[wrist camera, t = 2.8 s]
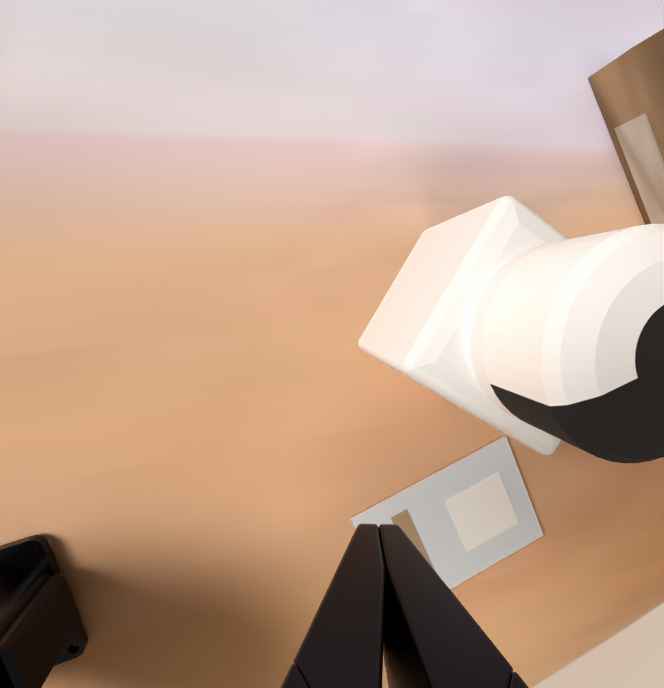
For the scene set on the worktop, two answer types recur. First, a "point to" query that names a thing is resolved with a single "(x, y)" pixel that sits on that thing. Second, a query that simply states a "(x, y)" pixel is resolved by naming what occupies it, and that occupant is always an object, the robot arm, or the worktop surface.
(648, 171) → the stop bar
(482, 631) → the robot arm
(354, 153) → the worktop surface
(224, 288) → the worktop surface
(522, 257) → the medicine bottle
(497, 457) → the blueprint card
